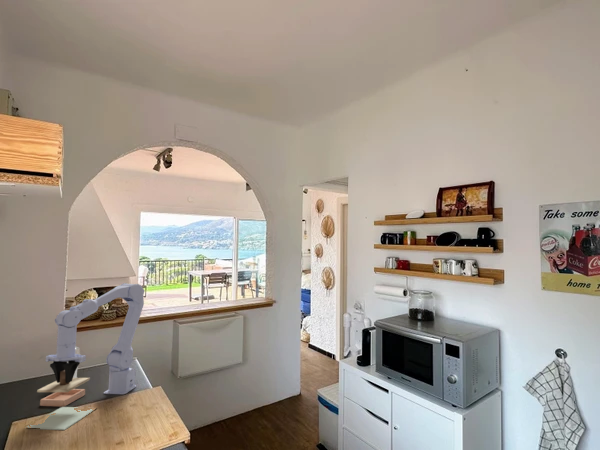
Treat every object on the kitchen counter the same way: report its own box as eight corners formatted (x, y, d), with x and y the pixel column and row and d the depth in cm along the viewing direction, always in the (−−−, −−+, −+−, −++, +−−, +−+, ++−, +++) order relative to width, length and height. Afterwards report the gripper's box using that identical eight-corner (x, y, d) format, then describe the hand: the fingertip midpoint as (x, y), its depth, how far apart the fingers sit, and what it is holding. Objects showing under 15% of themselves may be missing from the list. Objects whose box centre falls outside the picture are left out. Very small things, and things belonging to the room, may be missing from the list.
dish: (85, 394, 129) (85, 389, 129) (64, 406, 119) (64, 400, 119) (62, 394, 130) (62, 388, 130) (40, 405, 120) (40, 399, 120)
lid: (89, 379, 121) (90, 365, 121) (67, 392, 110) (68, 376, 110) (62, 379, 121) (62, 365, 122) (37, 392, 110) (37, 376, 111)
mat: (96, 409, 116) (96, 408, 116) (64, 430, 102) (64, 428, 102) (61, 407, 118) (62, 406, 118) (25, 428, 104) (25, 427, 104)
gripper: (38, 346, 114) (36, 385, 113) (75, 347, 112) (73, 386, 111) (56, 341, 121) (54, 377, 120) (90, 341, 119) (89, 379, 118)
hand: (64, 381), depth 116 cm, fingers closed on lid, 3 cm apart
